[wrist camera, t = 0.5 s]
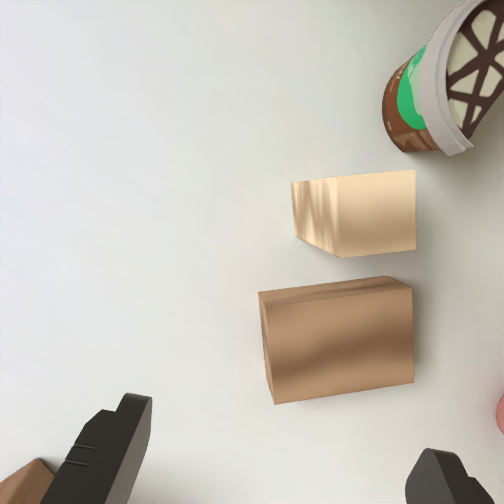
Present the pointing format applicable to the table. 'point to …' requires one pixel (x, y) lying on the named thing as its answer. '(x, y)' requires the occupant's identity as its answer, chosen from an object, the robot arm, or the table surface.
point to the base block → (337, 338)
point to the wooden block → (26, 484)
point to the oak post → (357, 213)
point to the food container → (448, 81)
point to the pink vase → (500, 415)
